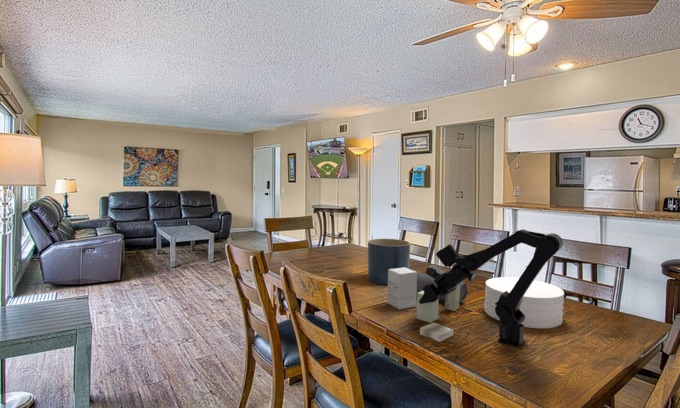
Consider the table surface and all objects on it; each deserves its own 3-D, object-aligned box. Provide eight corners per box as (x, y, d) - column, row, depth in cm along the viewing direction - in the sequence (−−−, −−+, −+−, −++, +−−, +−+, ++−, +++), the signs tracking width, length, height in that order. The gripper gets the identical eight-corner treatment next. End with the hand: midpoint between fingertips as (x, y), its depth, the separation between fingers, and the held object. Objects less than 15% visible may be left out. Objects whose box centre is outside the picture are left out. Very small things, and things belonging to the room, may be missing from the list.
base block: (453, 336, 127) (453, 329, 127) (439, 343, 122) (439, 335, 122) (433, 329, 133) (433, 322, 133) (419, 335, 128) (419, 328, 128)
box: (449, 305, 157) (450, 276, 156) (459, 308, 154) (460, 277, 153) (444, 309, 153) (445, 278, 152) (454, 311, 150) (455, 280, 149)
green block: (437, 318, 143) (438, 292, 142) (431, 322, 138) (431, 296, 137) (423, 314, 146) (424, 289, 146) (416, 318, 142) (417, 293, 141)
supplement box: (403, 300, 163) (405, 266, 162) (416, 306, 155) (417, 271, 154) (386, 303, 159) (387, 268, 158) (398, 309, 151) (400, 273, 150)
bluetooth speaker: (467, 302, 162) (468, 279, 162) (459, 307, 155) (460, 284, 155) (421, 291, 177) (421, 270, 176) (411, 295, 170) (412, 274, 169)
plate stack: (473, 314, 148) (474, 286, 147) (498, 298, 168) (500, 273, 168) (551, 335, 129) (553, 303, 128) (569, 314, 149) (571, 287, 148)
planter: (364, 284, 187) (365, 244, 185) (368, 273, 208) (369, 237, 207) (409, 287, 183) (410, 246, 182) (408, 275, 205) (409, 239, 203)
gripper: (450, 255, 145) (423, 277, 153) (428, 263, 131) (400, 287, 138) (469, 279, 141) (440, 300, 148) (449, 289, 126) (418, 313, 134)
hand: (425, 299), depth 142 cm, fingers open, 9 cm apart
